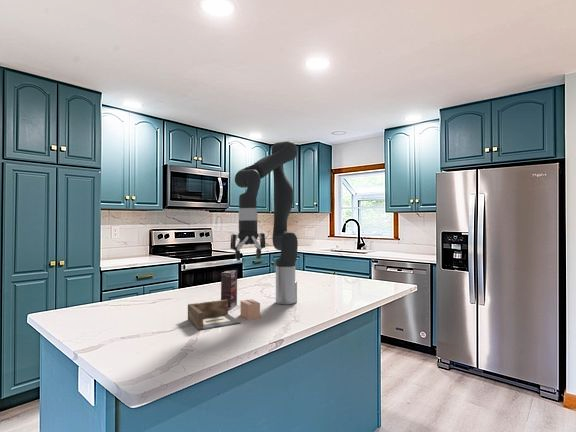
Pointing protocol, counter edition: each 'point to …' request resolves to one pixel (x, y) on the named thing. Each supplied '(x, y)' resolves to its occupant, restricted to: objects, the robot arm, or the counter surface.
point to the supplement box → (229, 287)
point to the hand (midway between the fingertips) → (248, 259)
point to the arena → (210, 315)
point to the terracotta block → (250, 309)
